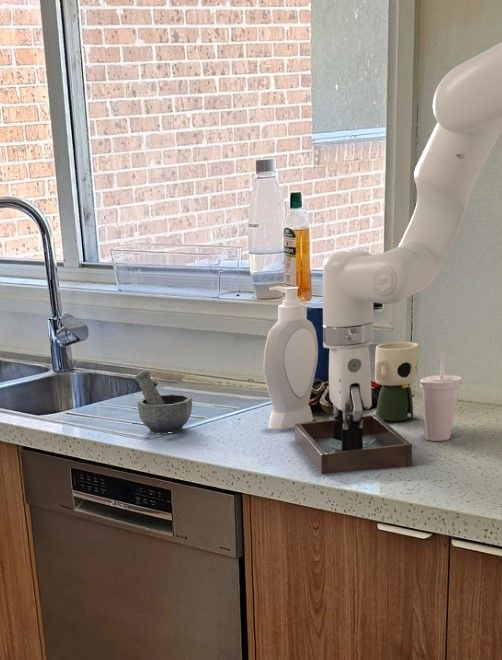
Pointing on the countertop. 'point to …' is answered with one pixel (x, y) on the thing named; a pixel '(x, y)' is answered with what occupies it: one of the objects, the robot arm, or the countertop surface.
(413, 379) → the character mug
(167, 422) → the mortar and pestle
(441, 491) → the countertop surface
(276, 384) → the soap bottle
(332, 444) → the pacifier
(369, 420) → the crate
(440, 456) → the countertop surface
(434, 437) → the smoothie
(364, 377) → the robot arm
